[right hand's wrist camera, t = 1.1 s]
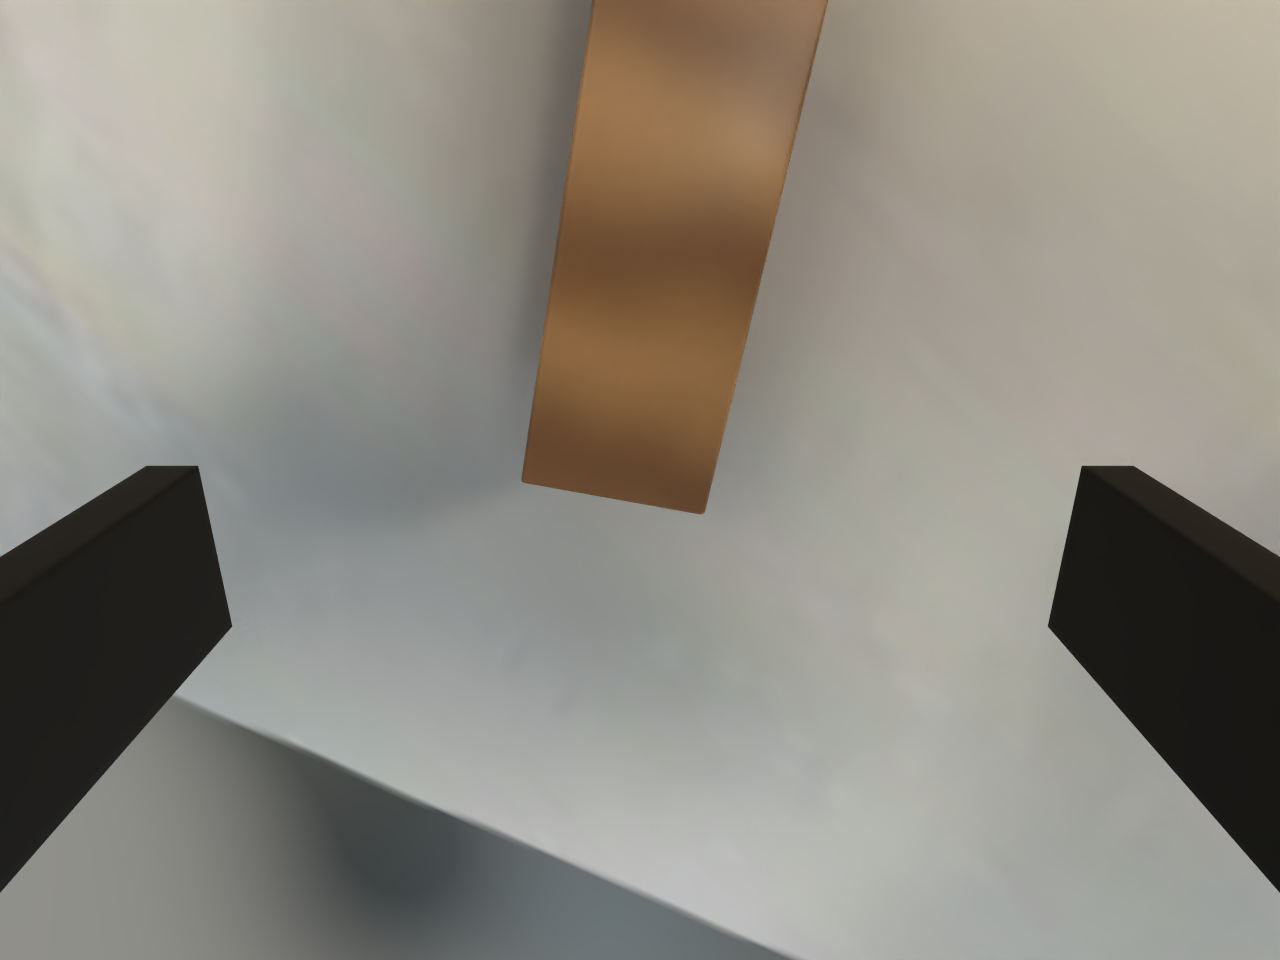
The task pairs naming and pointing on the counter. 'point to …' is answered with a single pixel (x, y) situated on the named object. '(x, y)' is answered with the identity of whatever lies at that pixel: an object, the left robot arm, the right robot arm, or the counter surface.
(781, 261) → the counter surface
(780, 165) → the beam
